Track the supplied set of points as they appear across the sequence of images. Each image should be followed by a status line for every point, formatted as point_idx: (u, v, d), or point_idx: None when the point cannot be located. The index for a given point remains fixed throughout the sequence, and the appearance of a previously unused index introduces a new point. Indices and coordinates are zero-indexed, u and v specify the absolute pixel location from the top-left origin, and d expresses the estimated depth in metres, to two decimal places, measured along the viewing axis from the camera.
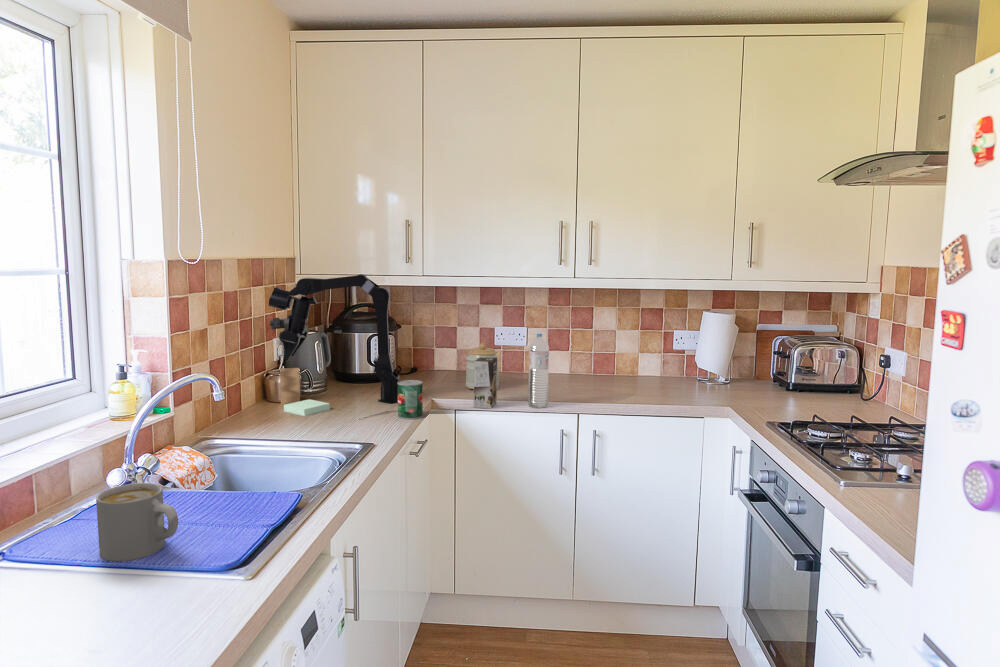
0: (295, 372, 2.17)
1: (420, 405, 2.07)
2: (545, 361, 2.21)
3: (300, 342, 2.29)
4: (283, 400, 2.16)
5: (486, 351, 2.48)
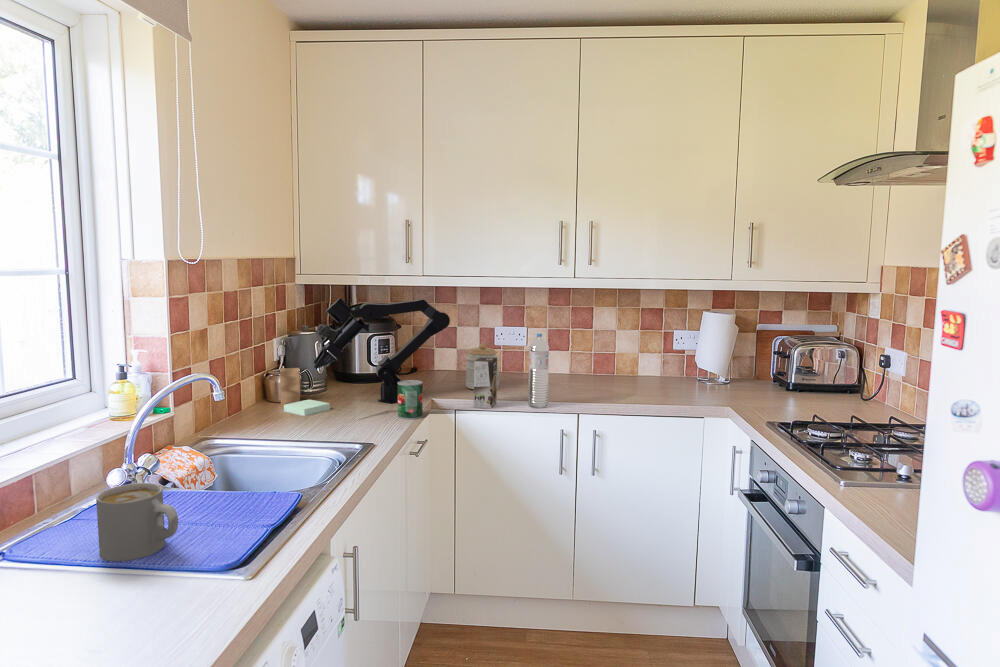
0: (295, 372, 2.17)
1: (420, 405, 2.07)
2: (545, 361, 2.21)
3: None
4: (283, 400, 2.16)
5: (486, 351, 2.48)
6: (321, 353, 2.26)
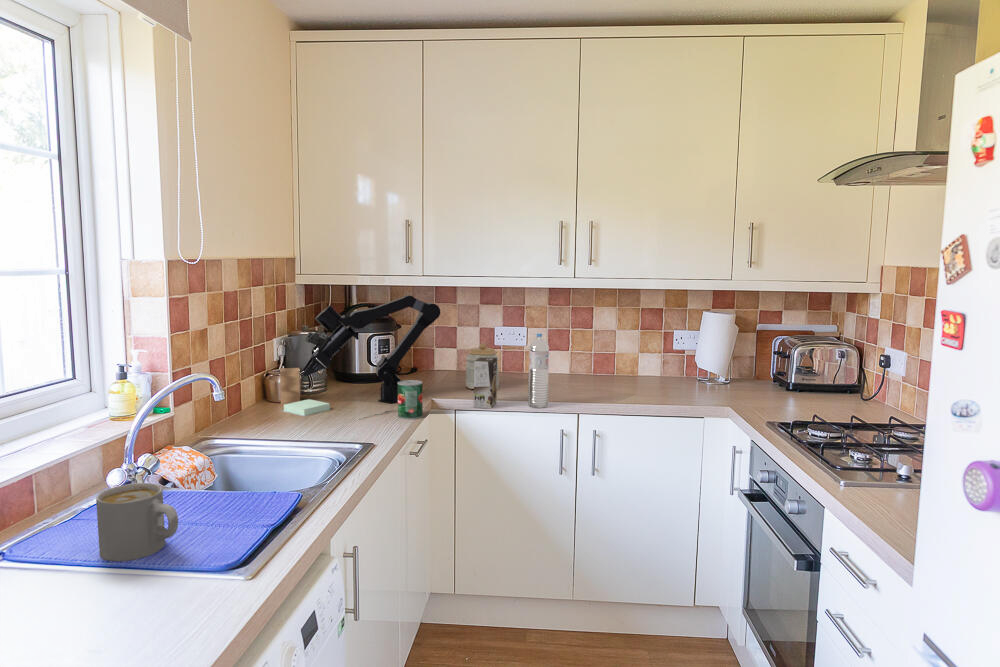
0: (295, 372, 2.17)
1: (420, 405, 2.07)
2: (545, 361, 2.21)
3: None
4: (283, 400, 2.16)
5: (486, 351, 2.48)
6: (310, 360, 2.25)
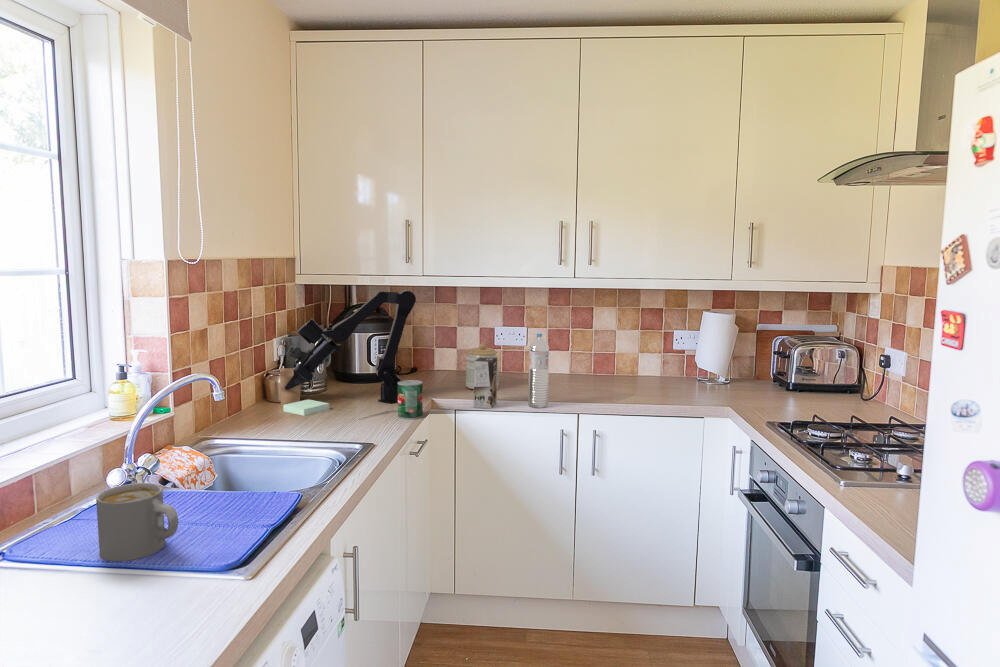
0: None
1: (420, 405, 2.07)
2: (545, 361, 2.21)
3: None
4: (283, 400, 2.16)
5: (486, 351, 2.48)
6: None
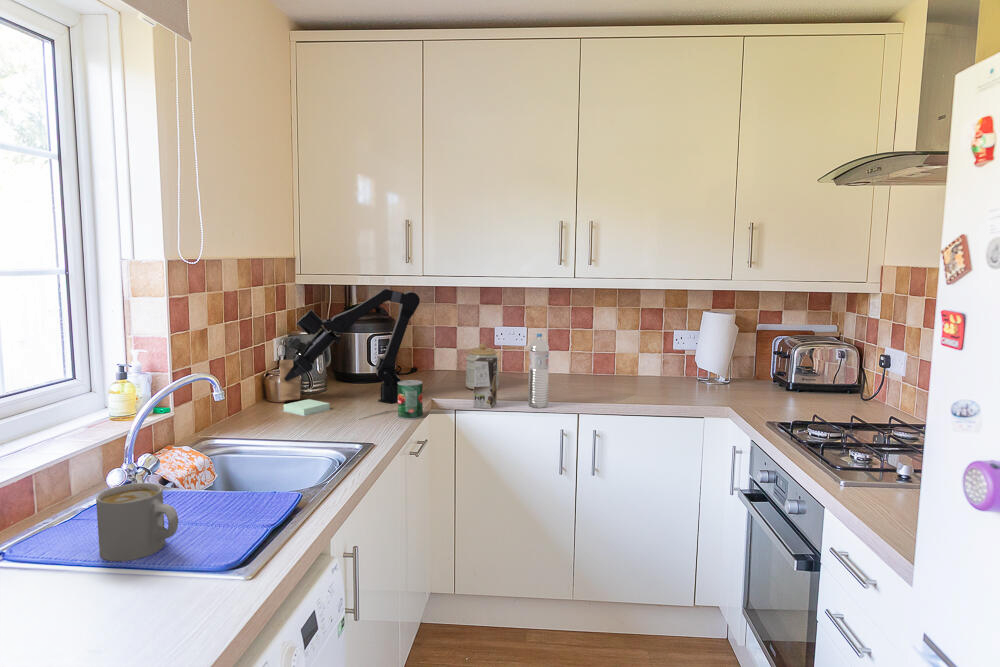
0: None
1: (420, 405, 2.07)
2: (545, 361, 2.21)
3: None
4: (282, 391, 2.16)
5: (486, 351, 2.48)
6: None
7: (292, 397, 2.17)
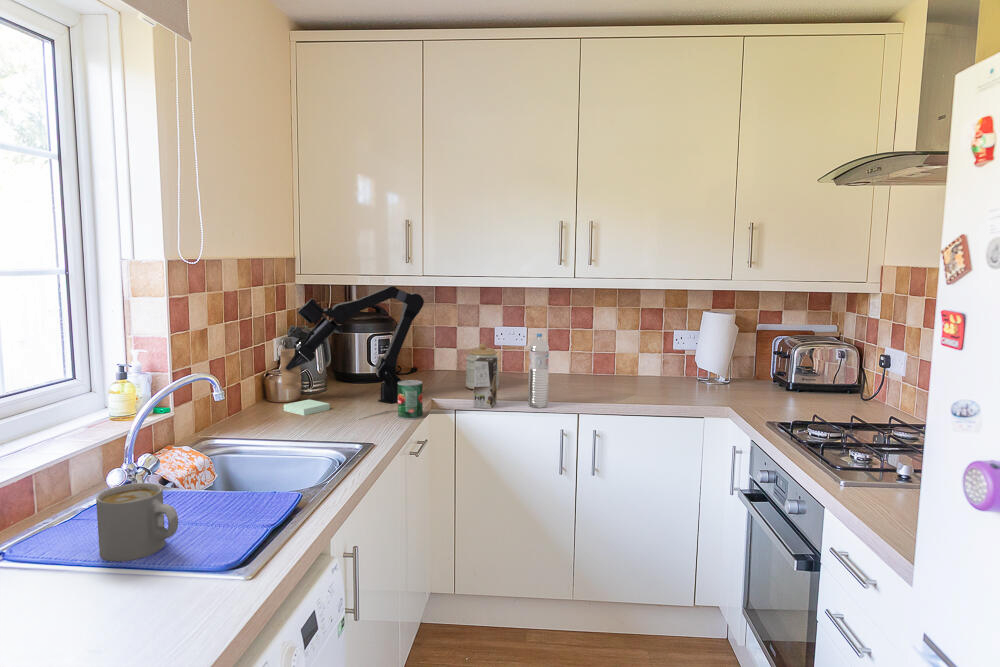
0: None
1: (420, 405, 2.07)
2: (545, 361, 2.21)
3: None
4: (284, 380, 2.14)
5: (486, 351, 2.48)
6: None
7: (293, 387, 2.15)
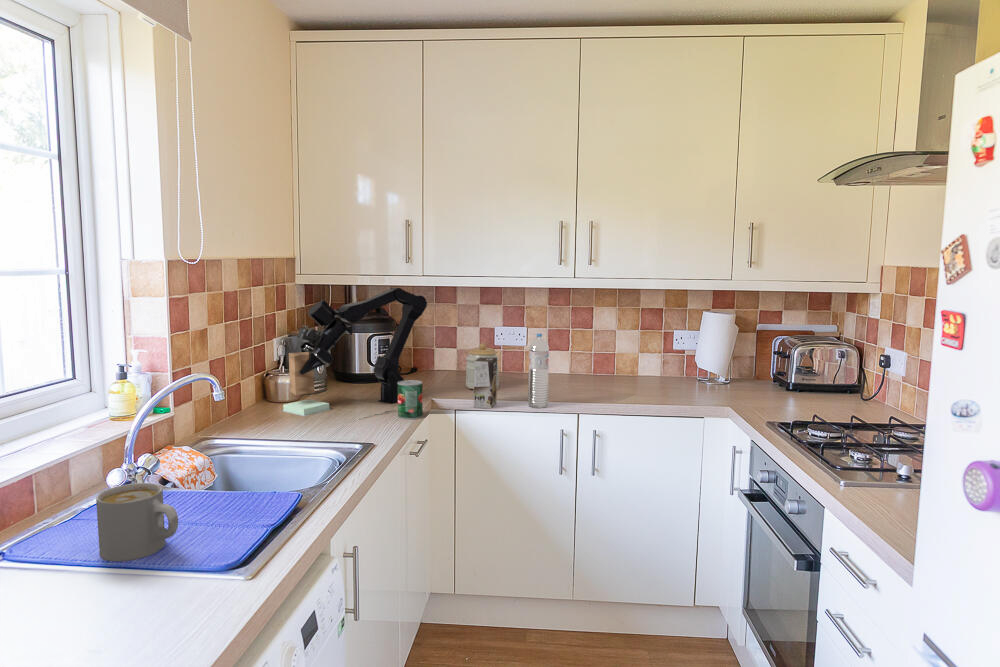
0: None
1: (420, 405, 2.07)
2: (545, 361, 2.21)
3: None
4: (297, 385, 2.06)
5: (486, 351, 2.48)
6: None
7: (306, 392, 2.08)
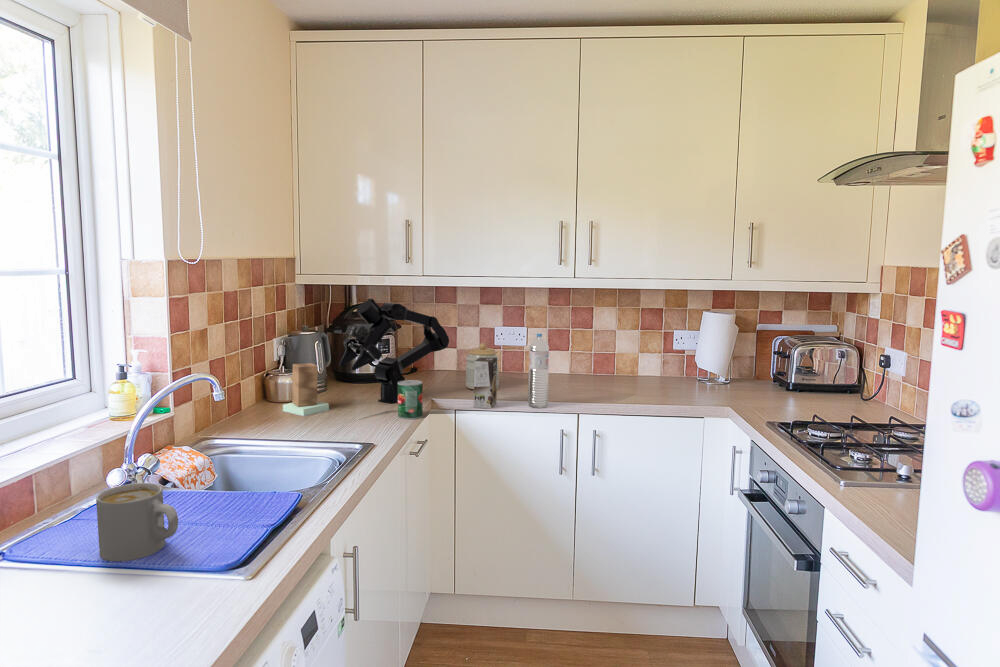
0: (314, 367, 2.06)
1: (420, 405, 2.07)
2: (545, 361, 2.21)
3: (353, 357, 2.24)
4: (300, 397, 2.05)
5: (486, 351, 2.48)
6: (346, 355, 2.22)
7: (309, 403, 2.07)
